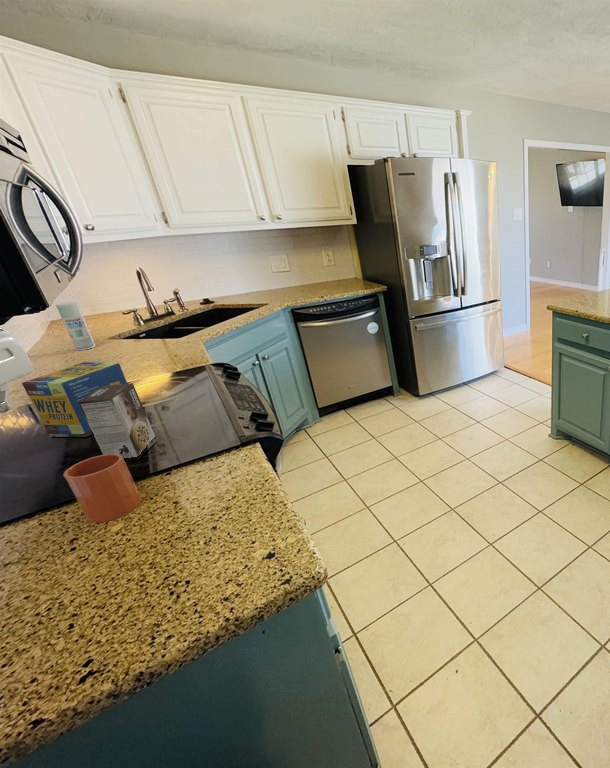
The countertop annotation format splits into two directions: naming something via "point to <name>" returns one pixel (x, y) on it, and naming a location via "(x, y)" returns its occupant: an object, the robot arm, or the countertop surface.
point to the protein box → (70, 394)
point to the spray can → (75, 325)
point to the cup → (103, 487)
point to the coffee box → (117, 420)
